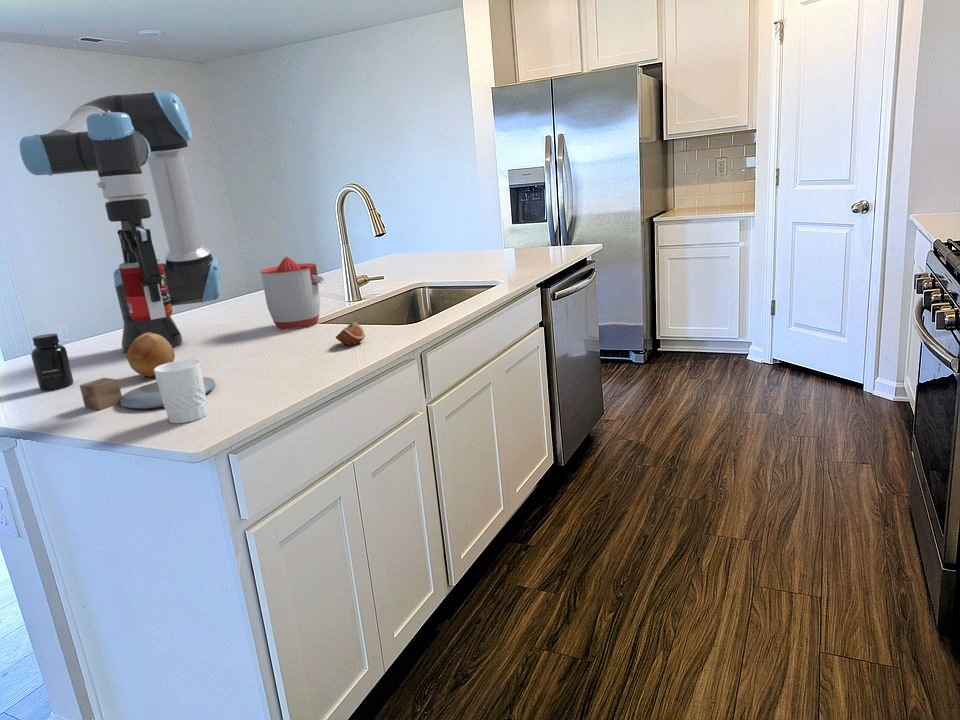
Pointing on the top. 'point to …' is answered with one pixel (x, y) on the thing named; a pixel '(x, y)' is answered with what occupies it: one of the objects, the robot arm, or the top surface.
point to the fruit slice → (351, 334)
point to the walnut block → (101, 393)
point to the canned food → (141, 291)
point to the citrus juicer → (292, 293)
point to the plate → (152, 395)
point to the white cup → (182, 390)
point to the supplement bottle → (51, 363)
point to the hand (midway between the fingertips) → (152, 315)
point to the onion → (149, 353)
